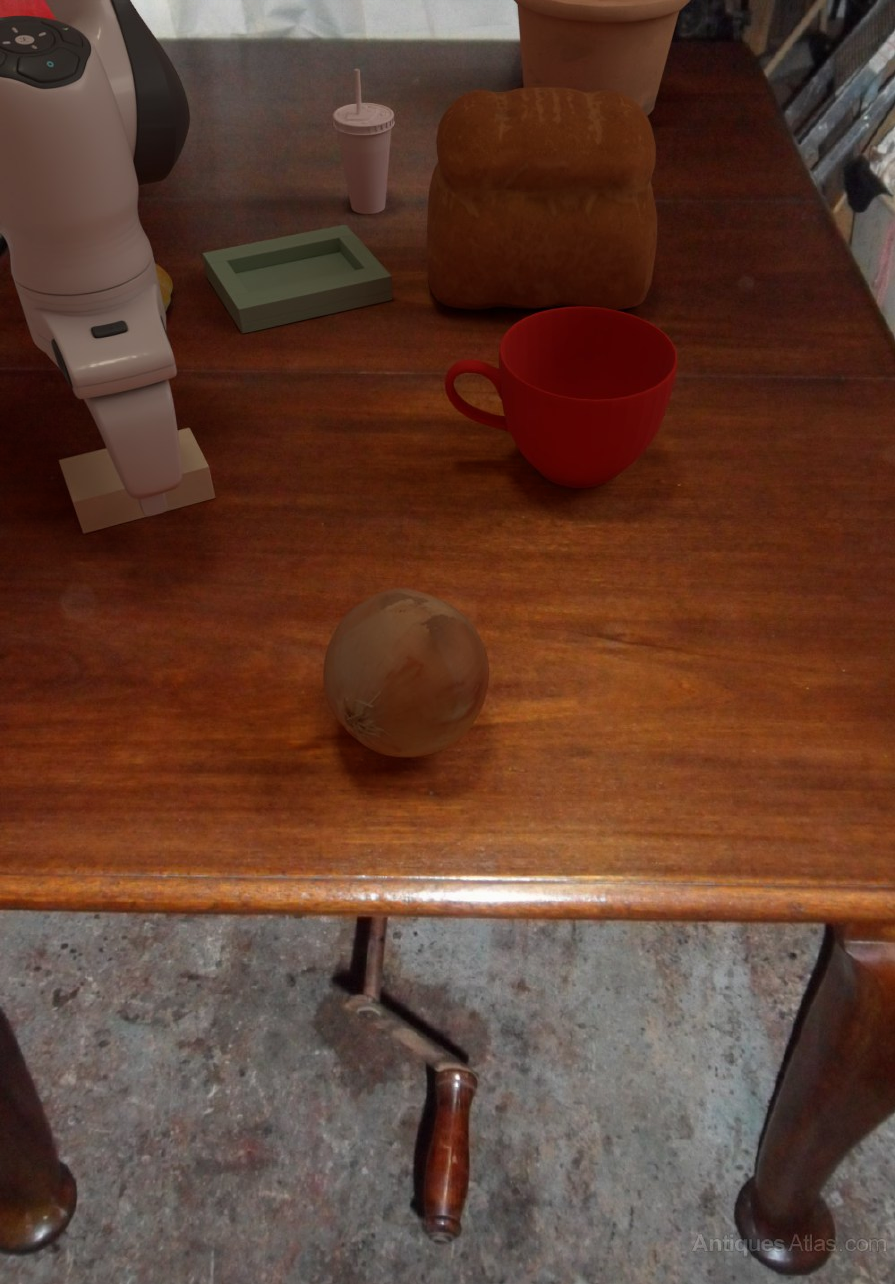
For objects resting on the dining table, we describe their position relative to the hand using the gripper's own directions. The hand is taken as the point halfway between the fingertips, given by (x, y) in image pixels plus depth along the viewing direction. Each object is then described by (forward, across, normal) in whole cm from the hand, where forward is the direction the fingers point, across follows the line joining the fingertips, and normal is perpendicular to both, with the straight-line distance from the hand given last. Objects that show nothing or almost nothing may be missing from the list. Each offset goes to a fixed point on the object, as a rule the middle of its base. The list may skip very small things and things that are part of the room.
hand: (138, 473), depth 80 cm
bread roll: (+2, -29, +6) cm, 29 cm away
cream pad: (+2, 0, 0) cm, 2 cm away
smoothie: (+2, -40, +34) cm, 52 cm away
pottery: (+2, -55, +71) cm, 90 cm away
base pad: (+2, -26, +21) cm, 33 cm away
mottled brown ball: (+2, +30, +9) cm, 31 cm away
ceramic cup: (+2, +10, +30) cm, 32 cm away
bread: (+2, -17, +43) cm, 47 cm away
